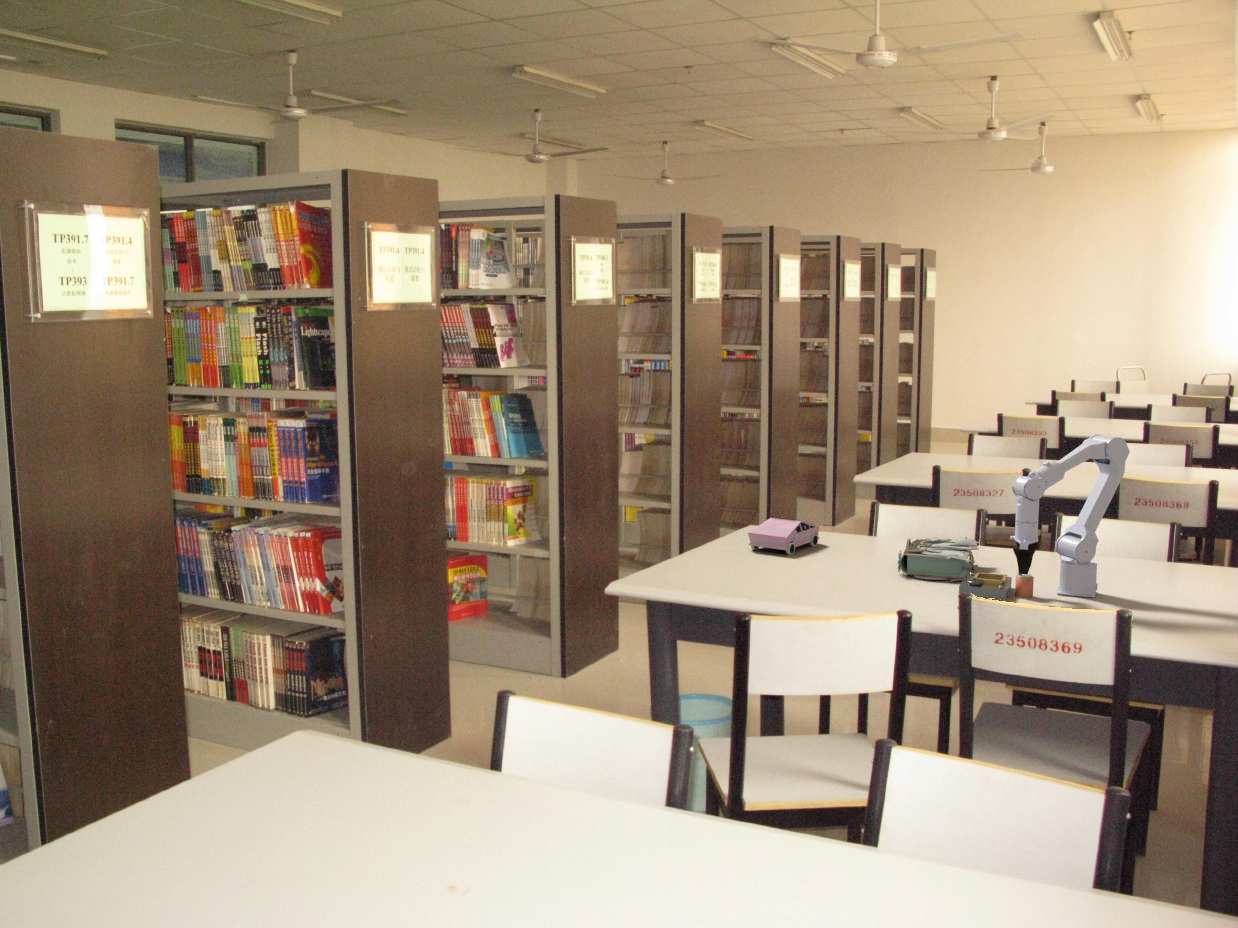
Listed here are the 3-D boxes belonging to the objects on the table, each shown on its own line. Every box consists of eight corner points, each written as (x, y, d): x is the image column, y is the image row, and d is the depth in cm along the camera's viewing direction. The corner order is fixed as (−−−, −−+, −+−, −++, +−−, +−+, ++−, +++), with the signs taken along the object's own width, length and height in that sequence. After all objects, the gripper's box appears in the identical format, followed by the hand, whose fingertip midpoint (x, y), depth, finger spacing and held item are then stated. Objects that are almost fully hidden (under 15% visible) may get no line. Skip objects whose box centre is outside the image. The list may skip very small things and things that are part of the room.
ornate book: (907, 562, 333) (891, 579, 305) (908, 532, 332) (892, 546, 304) (982, 568, 324) (973, 586, 296) (983, 537, 323) (974, 552, 295)
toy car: (822, 544, 357) (822, 515, 356) (786, 557, 338) (786, 526, 336) (784, 539, 366) (784, 511, 365) (747, 552, 346) (747, 522, 345)
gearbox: (1011, 587, 294) (1011, 572, 293) (1005, 600, 279) (1006, 585, 279) (966, 583, 299) (967, 569, 298) (958, 596, 284) (959, 581, 284)
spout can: (1033, 595, 285) (1034, 569, 284) (1032, 599, 281) (1033, 573, 280) (1015, 593, 287) (1016, 568, 286) (1014, 597, 283) (1015, 571, 282)
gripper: (1013, 516, 289) (1011, 564, 291) (1008, 524, 276) (1006, 575, 278) (1040, 517, 286) (1038, 566, 288) (1037, 526, 273) (1034, 577, 275)
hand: (1024, 570), depth 283 cm, fingers open, 7 cm apart
